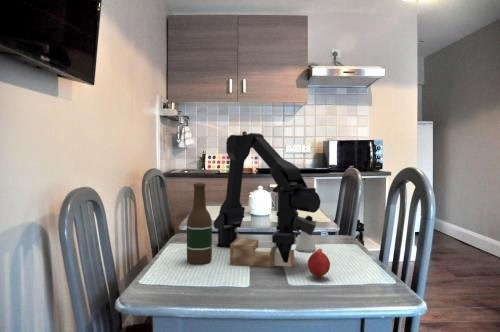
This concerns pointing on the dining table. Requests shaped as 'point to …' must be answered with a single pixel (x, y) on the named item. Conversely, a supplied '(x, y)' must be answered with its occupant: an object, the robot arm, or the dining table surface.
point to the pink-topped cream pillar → (276, 256)
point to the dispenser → (249, 254)
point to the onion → (318, 263)
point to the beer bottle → (199, 229)
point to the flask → (305, 243)
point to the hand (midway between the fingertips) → (286, 260)
